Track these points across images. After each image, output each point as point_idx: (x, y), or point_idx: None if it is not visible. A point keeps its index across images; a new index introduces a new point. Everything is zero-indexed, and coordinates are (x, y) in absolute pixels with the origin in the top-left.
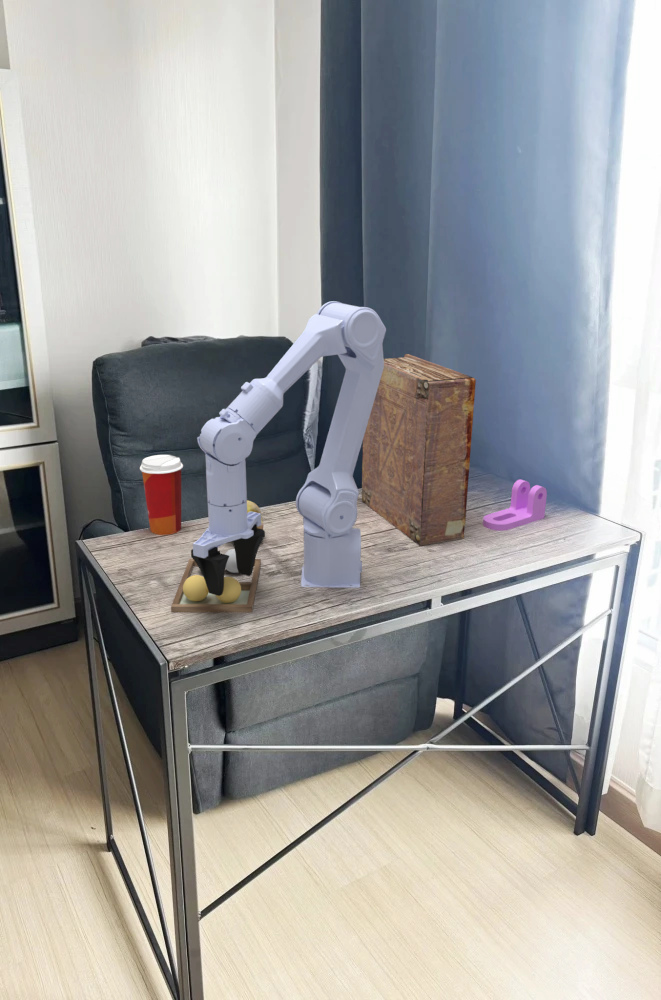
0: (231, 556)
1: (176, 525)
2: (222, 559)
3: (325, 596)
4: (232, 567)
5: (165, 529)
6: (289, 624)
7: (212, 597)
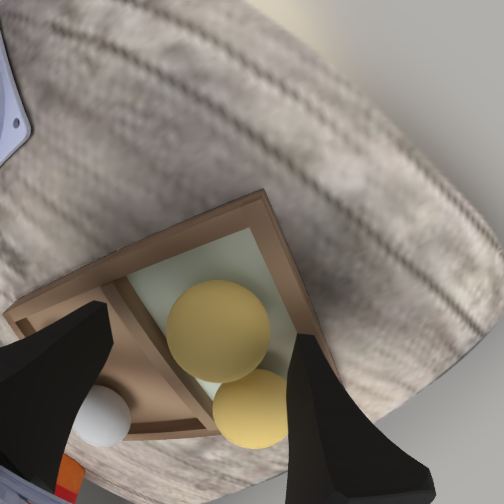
0: None
1: None
2: (425, 489)
3: (41, 44)
4: None
5: (70, 470)
6: (265, 30)
7: None
